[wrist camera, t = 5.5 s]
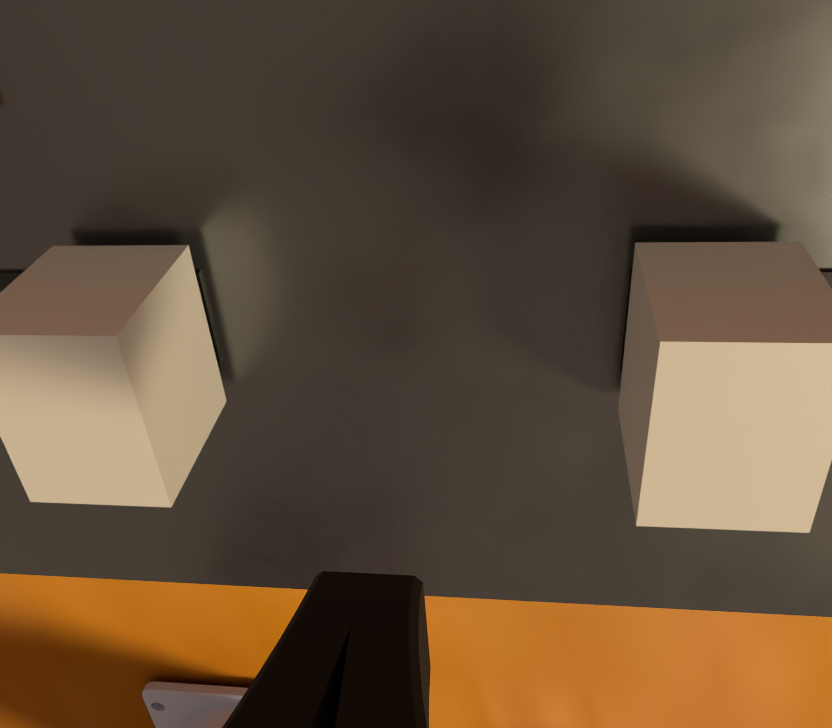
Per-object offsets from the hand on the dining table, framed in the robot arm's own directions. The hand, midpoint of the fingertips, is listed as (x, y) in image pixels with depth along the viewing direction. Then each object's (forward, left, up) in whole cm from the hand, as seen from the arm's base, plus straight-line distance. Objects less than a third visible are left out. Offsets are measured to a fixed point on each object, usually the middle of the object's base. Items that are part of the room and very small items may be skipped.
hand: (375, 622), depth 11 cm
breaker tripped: (0, +6, -8) cm, 10 cm away
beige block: (0, -5, -8) cm, 9 cm away
